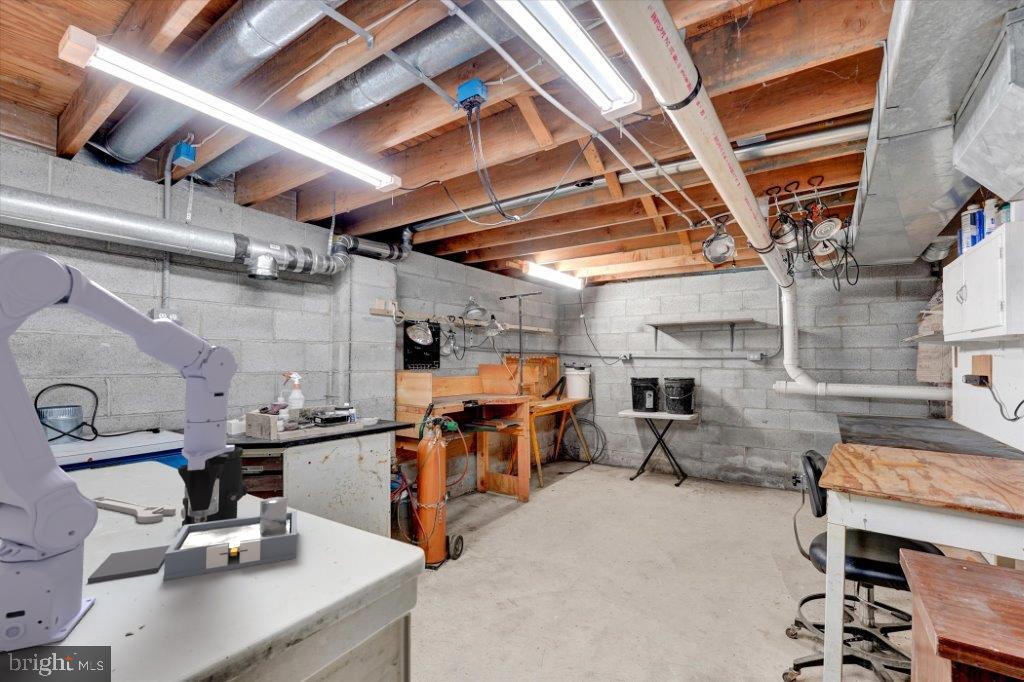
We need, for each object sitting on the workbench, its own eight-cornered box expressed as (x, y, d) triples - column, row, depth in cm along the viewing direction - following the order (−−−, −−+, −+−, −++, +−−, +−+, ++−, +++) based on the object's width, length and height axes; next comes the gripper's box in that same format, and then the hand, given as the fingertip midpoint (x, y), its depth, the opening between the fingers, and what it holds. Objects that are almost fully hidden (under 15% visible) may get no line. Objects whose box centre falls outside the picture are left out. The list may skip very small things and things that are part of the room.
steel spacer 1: (216, 514, 71) (217, 482, 71) (185, 518, 70) (186, 485, 70) (219, 507, 75) (220, 476, 75) (190, 510, 73) (191, 479, 73)
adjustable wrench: (86, 506, 97) (86, 498, 97) (122, 498, 103) (122, 490, 103) (146, 526, 86) (146, 517, 86) (183, 516, 91) (183, 507, 91)
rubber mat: (157, 571, 67) (158, 567, 67) (87, 582, 64) (87, 578, 64) (172, 548, 75) (173, 544, 75) (111, 557, 72) (111, 553, 72)
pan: (288, 547, 71) (288, 542, 71) (172, 565, 65) (173, 560, 65) (289, 523, 82) (290, 518, 82) (190, 536, 75) (190, 531, 75)
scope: (182, 452, 86) (238, 444, 94) (179, 526, 85) (236, 511, 93) (199, 457, 81) (257, 449, 89) (196, 536, 80) (255, 520, 89)
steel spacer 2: (286, 532, 75) (286, 502, 76) (258, 536, 74) (259, 505, 74) (286, 524, 79) (287, 495, 79) (260, 528, 77) (261, 498, 77)
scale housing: (296, 558, 72) (296, 535, 72) (163, 580, 65) (164, 554, 65) (296, 529, 84) (296, 510, 84) (183, 545, 76) (184, 524, 76)
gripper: (229, 425, 68) (226, 516, 67) (240, 414, 81) (237, 490, 80) (171, 427, 65) (168, 523, 64) (192, 415, 78) (190, 495, 77)
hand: (203, 505), depth 72 cm, fingers closed on steel spacer 1, 4 cm apart
